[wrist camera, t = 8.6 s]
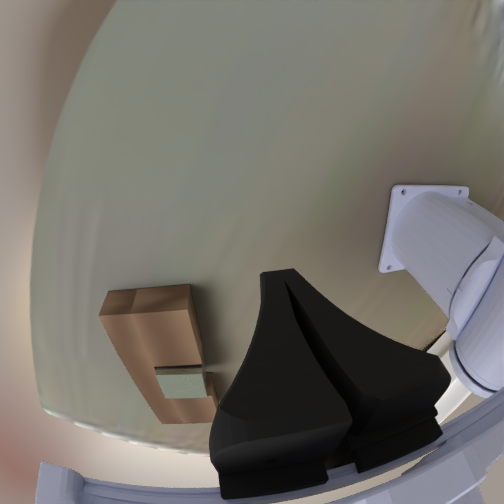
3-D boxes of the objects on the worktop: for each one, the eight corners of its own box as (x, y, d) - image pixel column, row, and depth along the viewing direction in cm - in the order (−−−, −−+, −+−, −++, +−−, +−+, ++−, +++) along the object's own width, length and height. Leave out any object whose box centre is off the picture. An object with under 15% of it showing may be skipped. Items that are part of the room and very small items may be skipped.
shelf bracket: (347, 385, 34) (398, 452, 23) (468, 269, 34) (528, 309, 23) (357, 397, 37) (402, 456, 26) (468, 291, 37) (521, 329, 26)
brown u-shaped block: (189, 283, 22) (187, 309, 19) (218, 400, 31) (220, 421, 29) (108, 291, 21) (98, 315, 19) (163, 403, 31) (162, 423, 28)
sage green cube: (201, 339, 25) (201, 373, 22) (206, 365, 28) (207, 397, 24) (159, 341, 25) (155, 375, 22) (167, 366, 27) (165, 398, 24)
